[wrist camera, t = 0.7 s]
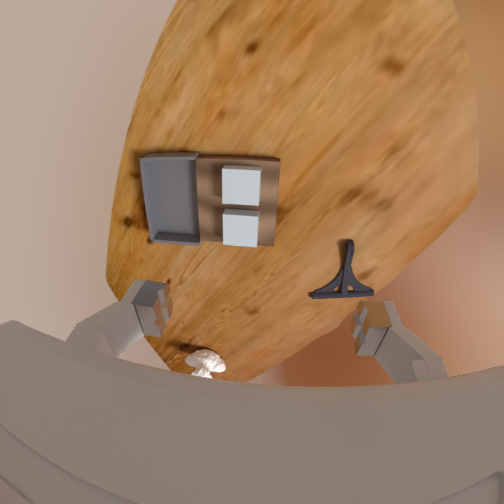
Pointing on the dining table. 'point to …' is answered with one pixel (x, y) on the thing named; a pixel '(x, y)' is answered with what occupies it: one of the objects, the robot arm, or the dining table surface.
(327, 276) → the dining table surface
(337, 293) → the bracket
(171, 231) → the tray
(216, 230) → the board
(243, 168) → the tile
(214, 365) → the bust
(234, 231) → the tile
